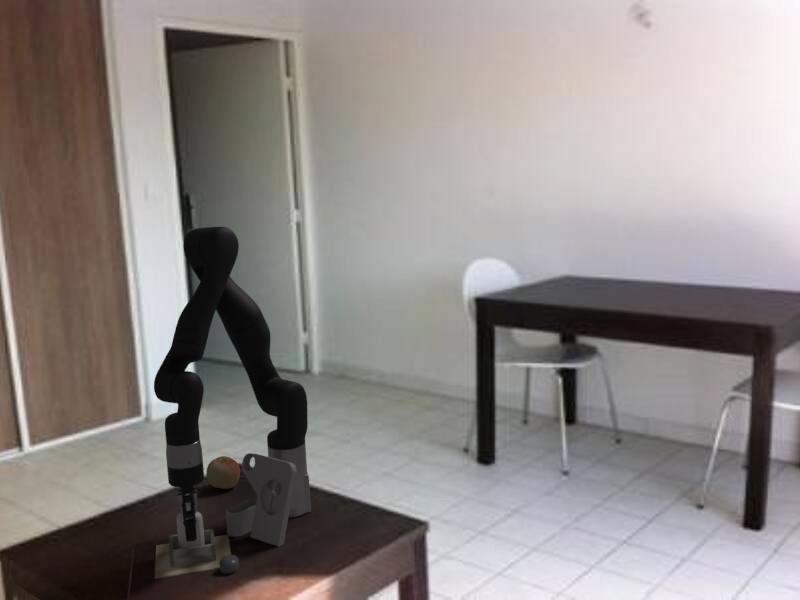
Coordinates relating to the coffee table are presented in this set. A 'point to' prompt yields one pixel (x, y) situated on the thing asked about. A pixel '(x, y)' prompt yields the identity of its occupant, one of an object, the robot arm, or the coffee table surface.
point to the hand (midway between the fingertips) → (191, 535)
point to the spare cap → (229, 564)
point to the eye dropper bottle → (182, 534)
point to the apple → (223, 472)
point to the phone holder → (264, 501)
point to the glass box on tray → (190, 556)
